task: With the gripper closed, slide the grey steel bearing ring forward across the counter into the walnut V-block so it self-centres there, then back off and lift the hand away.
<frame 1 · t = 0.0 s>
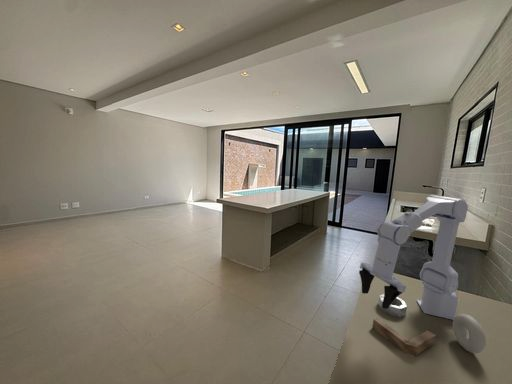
hand: (374, 300, 69), 11 cm above the countertop, tool pointing down, fingers open, 7 cm apart
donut: (464, 348, 65), on the countertop
vee stop: (401, 334, 68), on the countertop
bearing ring: (391, 309, 80), on the countertop
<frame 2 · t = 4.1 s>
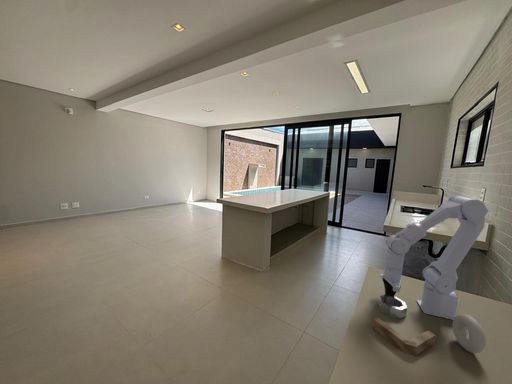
hand: (388, 298, 85), 1 cm above the countertop, tool pointing down, fingers closed
bearing ring: (391, 310, 80), on the countertop, touching gripper
everything else where it was.
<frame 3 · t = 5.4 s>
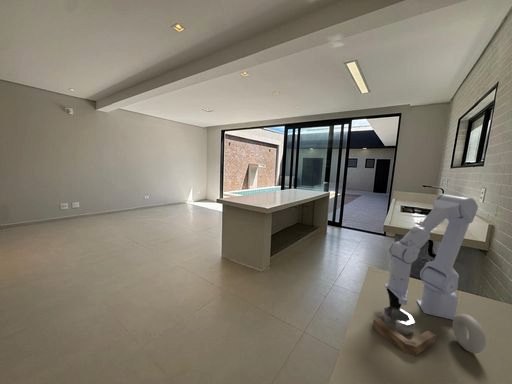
hand: (393, 310, 78), 1 cm above the countertop, tool pointing down, fingers closed
bearing ring: (397, 324, 73), on the countertop, touching gripper
everything else where it was.
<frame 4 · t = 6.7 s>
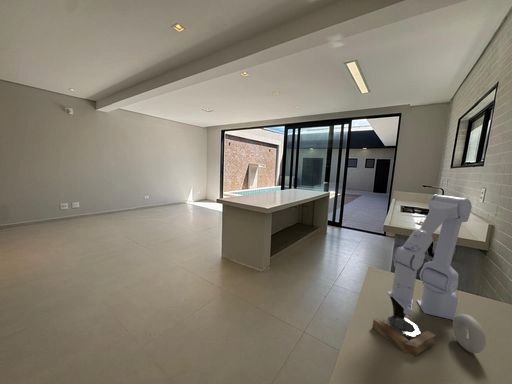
hand: (397, 320, 73), 1 cm above the countertop, tool pointing down, fingers closed
bearing ring: (401, 334, 68), on the countertop, touching gripper, vee stop
everything else where it was.
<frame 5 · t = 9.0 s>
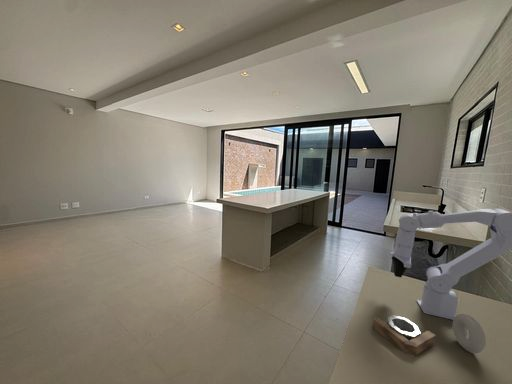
hand: (397, 276, 87), 9 cm above the countertop, tool pointing down, fingers closed
bearing ring: (401, 334, 68), on the countertop, touching vee stop
everything else where it was.
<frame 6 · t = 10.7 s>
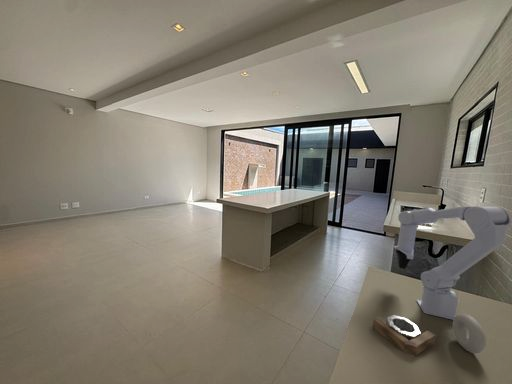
hand: (402, 267, 94), 9 cm above the countertop, tool pointing down, fingers closed
nothing on the countertop moved.
at the end: bearing ring 1.0 cm from the target spot on the vee stop, point 0.0 cm above the vee stop's base; bearing ring tilted 0°; bearing ring moved 13.0 cm from its start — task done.
